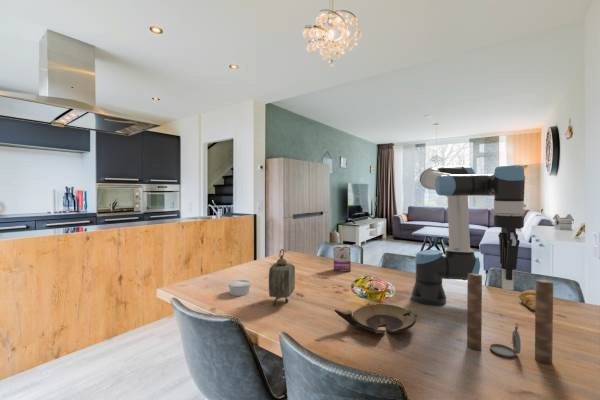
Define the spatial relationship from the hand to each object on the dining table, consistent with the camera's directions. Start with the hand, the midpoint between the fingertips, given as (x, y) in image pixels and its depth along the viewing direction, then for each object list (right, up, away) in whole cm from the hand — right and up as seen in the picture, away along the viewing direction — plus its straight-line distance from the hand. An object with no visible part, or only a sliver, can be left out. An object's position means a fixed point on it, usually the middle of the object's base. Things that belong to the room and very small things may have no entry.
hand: (507, 288), depth 87 cm
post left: (-8, -21, +4) cm, 22 cm away
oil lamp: (-37, -21, +19) cm, 46 cm away
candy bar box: (-37, -19, +98) cm, 106 cm away
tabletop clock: (-74, -20, +43) cm, 88 cm away
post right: (+8, -21, -4) cm, 22 cm away
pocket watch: (0, -21, 0) cm, 21 cm away
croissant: (+41, -20, +39) cm, 60 cm away
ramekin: (-97, -20, +55) cm, 113 cm away
